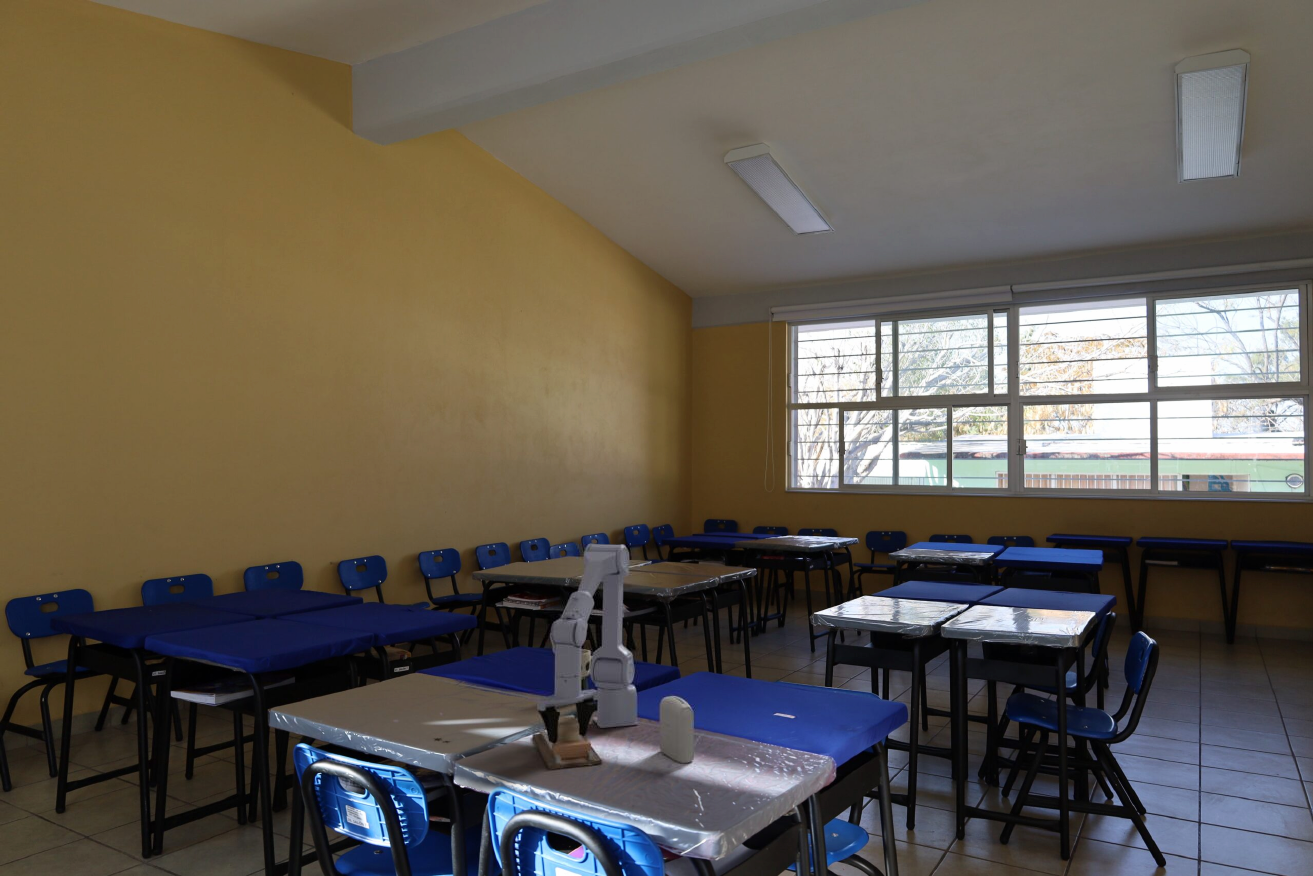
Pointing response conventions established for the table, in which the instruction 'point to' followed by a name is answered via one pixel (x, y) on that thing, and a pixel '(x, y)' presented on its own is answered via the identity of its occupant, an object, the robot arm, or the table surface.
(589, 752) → the rail
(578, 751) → the tan wooden bar
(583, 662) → the character mug
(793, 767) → the table surface
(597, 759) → the mounting board
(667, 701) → the photo printer
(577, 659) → the robot arm
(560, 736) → the block
